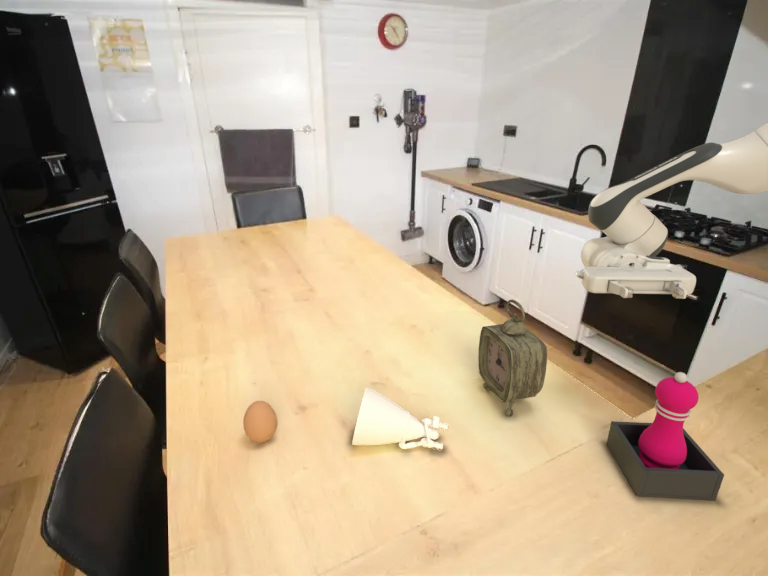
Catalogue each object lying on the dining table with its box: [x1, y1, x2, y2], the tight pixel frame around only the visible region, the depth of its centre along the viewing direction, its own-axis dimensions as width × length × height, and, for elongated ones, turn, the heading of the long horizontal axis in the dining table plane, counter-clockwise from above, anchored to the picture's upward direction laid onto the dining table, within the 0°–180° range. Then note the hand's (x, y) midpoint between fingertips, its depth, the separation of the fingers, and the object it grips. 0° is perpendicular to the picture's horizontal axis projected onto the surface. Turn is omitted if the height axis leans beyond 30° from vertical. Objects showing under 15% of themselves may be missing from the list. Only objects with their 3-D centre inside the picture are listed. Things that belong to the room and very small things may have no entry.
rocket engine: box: [351, 386, 449, 451], centre depth 82 cm, size 12×12×18 cm
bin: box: [606, 420, 725, 501], centre depth 74 cm, size 13×13×6 cm
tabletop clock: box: [477, 299, 548, 417], centre depth 92 cm, size 14×9×25 cm, turn 14°
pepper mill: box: [638, 371, 700, 469], centre depth 72 cm, size 7×7×20 cm
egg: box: [242, 400, 278, 443], centre depth 84 cm, size 7×7×9 cm
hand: (655, 294), depth 76 cm, fingers open, 8 cm apart
